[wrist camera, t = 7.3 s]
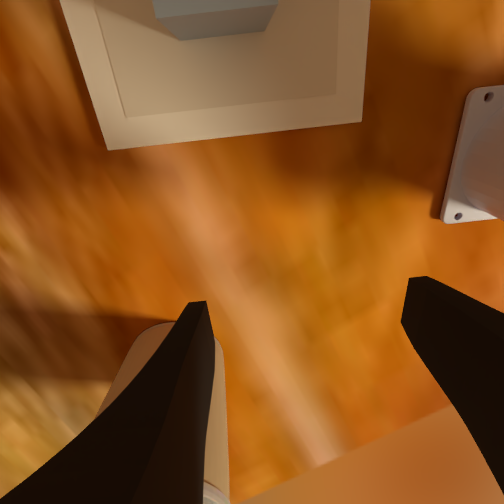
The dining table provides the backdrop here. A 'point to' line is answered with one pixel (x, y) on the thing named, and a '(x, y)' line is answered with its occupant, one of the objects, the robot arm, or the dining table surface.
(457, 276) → the dining table surface
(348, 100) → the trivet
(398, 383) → the dining table surface
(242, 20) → the block
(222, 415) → the coffee cup
